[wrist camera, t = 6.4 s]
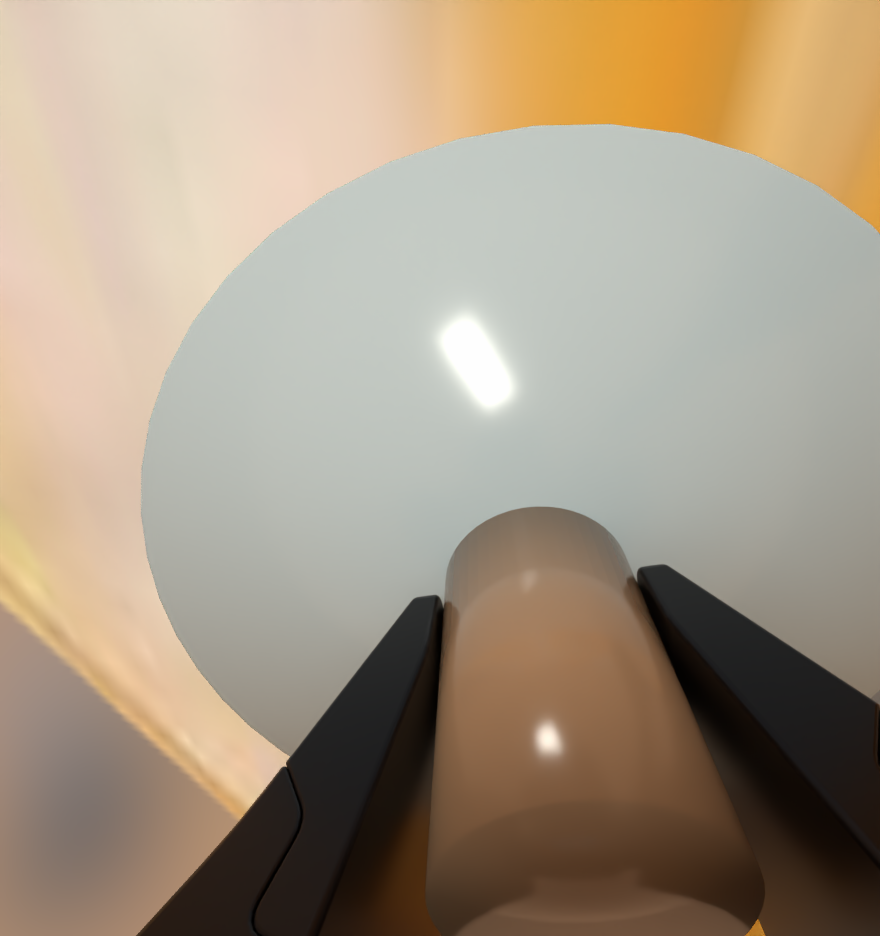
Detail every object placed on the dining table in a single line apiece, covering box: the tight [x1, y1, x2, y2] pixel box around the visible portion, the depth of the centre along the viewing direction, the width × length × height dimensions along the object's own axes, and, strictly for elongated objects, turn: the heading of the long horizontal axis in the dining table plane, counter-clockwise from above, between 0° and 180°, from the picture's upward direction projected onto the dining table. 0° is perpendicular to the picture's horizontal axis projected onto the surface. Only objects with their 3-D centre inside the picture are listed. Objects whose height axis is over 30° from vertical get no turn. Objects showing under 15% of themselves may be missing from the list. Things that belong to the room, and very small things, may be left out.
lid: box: [141, 124, 880, 936], centre depth 7 cm, size 13×13×5 cm
